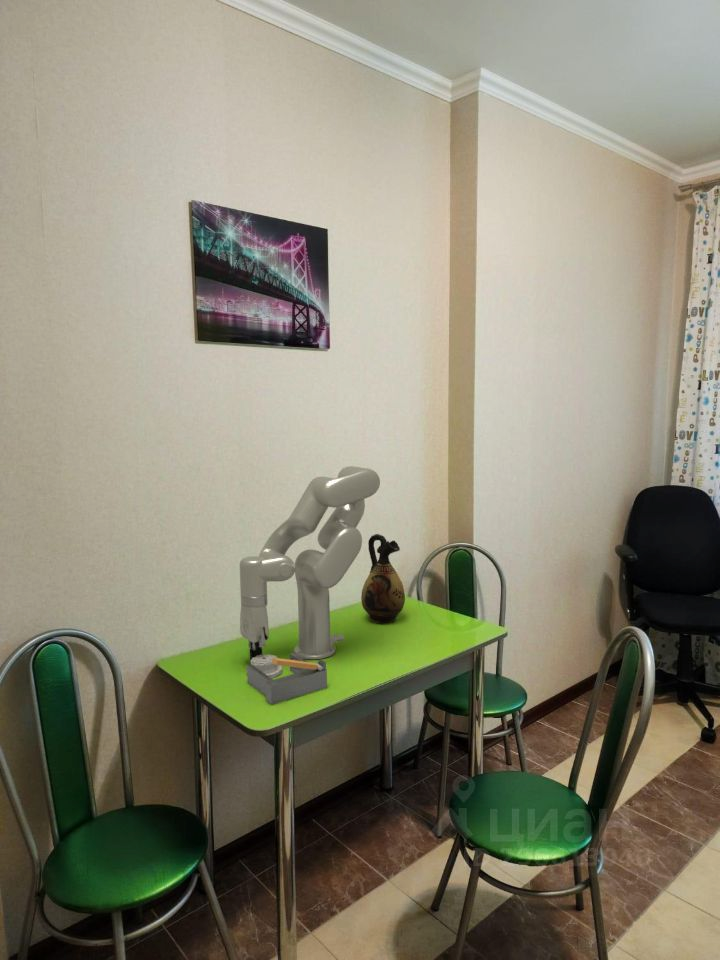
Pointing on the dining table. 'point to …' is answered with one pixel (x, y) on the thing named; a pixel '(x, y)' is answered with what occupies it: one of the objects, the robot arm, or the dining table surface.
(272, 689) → the bracket
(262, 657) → the mechanical component
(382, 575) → the ceramic jug
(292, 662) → the bar
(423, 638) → the dining table surface
